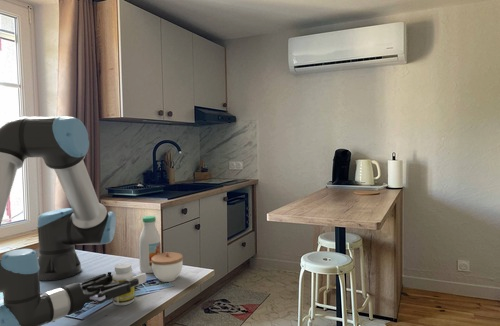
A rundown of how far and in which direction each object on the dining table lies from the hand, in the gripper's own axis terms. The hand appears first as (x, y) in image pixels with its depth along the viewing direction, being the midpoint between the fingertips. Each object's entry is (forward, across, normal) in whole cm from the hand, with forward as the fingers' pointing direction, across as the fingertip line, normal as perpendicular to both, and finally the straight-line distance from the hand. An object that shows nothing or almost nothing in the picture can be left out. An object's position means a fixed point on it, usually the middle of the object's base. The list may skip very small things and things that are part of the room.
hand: (138, 274), depth 116 cm
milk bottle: (+17, -16, -7) cm, 24 cm away
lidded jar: (+15, -4, -7) cm, 17 cm away
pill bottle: (-5, 0, -7) cm, 9 cm away
